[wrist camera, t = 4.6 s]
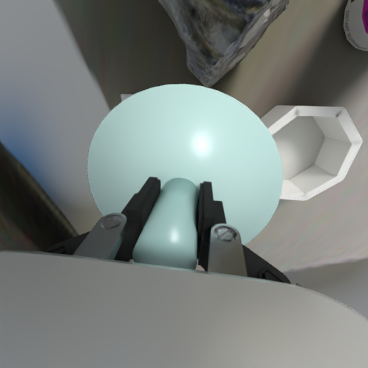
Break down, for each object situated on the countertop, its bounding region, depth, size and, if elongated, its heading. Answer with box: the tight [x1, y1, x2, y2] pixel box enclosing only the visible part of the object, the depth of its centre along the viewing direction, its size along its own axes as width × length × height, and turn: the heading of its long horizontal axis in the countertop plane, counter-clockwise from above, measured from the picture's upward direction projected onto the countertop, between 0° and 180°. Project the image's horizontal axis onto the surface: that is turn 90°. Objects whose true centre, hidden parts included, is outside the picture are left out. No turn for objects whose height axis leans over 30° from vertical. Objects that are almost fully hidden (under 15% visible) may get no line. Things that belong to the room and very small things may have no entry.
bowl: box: [260, 105, 363, 201], centre depth 23 cm, size 12×12×6 cm
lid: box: [87, 84, 283, 270], centre depth 10 cm, size 14×14×6 cm
